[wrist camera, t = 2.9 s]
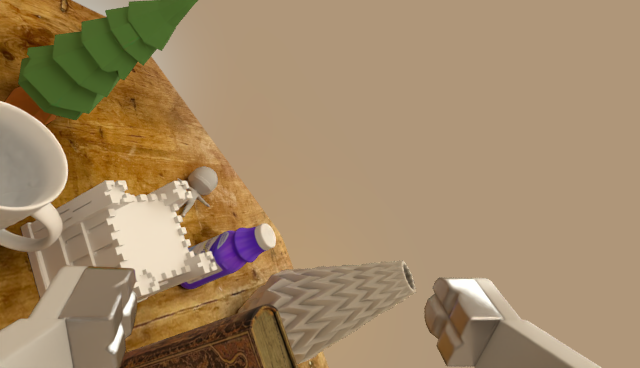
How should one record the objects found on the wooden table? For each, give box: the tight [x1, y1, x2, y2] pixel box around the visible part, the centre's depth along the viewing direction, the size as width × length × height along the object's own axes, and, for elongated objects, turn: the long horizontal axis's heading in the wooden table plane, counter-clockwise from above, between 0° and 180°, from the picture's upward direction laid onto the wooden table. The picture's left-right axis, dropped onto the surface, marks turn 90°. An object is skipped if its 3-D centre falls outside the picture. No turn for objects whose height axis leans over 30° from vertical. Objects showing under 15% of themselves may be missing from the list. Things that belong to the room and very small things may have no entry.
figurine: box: [177, 166, 218, 217], centre depth 73 cm, size 8×5×12 cm
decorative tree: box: [5, 0, 198, 126], centre depth 47 cm, size 10×9×30 cm
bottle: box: [180, 223, 276, 289], centre depth 62 cm, size 7×6×17 cm
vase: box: [237, 260, 416, 364], centre depth 69 cm, size 17×17×33 cm
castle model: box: [21, 181, 217, 303], centre depth 47 cm, size 13×15×14 cm
